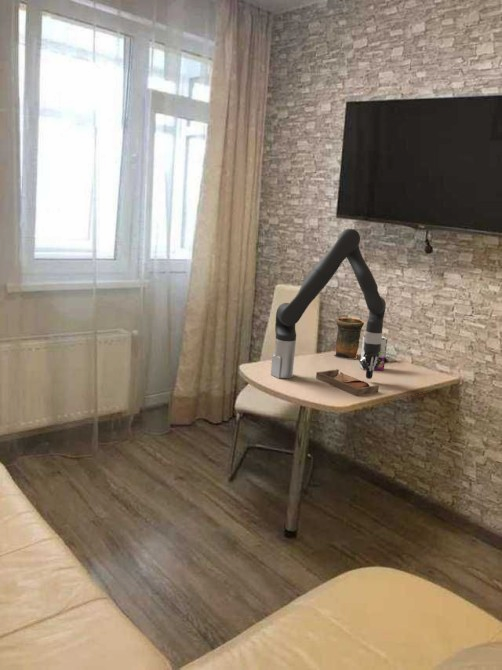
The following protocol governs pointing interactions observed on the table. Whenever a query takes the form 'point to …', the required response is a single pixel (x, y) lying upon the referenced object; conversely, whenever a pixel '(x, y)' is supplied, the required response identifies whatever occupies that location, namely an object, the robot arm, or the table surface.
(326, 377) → the tray
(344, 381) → the sunglasses case
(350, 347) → the vessel
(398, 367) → the table surface
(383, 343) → the candy bar box
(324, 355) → the table surface
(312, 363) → the table surface
